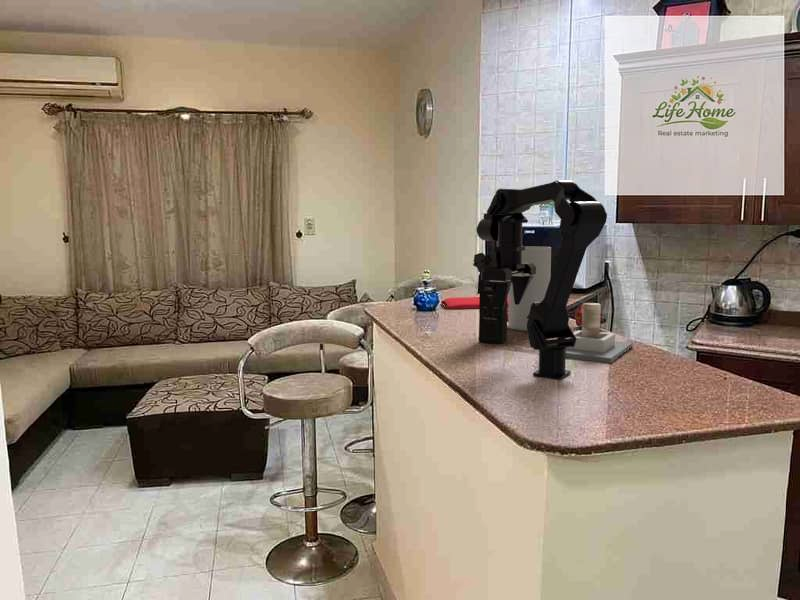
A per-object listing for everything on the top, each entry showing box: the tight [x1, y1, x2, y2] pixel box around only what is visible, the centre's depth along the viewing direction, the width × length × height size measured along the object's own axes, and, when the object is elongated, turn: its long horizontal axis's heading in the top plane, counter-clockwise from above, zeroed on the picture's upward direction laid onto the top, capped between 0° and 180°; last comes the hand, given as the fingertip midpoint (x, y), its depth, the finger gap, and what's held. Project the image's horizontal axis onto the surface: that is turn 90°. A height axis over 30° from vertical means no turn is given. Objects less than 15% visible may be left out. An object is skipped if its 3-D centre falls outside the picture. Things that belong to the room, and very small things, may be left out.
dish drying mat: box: [440, 295, 509, 310], centre depth 236 cm, size 16×41×4 cm, turn 96°
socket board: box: [566, 329, 634, 364], centre depth 156 cm, size 20×16×4 cm
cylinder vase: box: [507, 245, 552, 332], centre depth 187 cm, size 12×12×25 cm
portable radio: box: [477, 271, 508, 345], centre depth 168 cm, size 8×6×25 cm
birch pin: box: [581, 302, 602, 339], centre depth 155 cm, size 4×4×11 cm
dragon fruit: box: [574, 303, 607, 327], centre depth 186 cm, size 8×8×12 cm
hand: (509, 306), depth 147 cm, fingers open, 9 cm apart
